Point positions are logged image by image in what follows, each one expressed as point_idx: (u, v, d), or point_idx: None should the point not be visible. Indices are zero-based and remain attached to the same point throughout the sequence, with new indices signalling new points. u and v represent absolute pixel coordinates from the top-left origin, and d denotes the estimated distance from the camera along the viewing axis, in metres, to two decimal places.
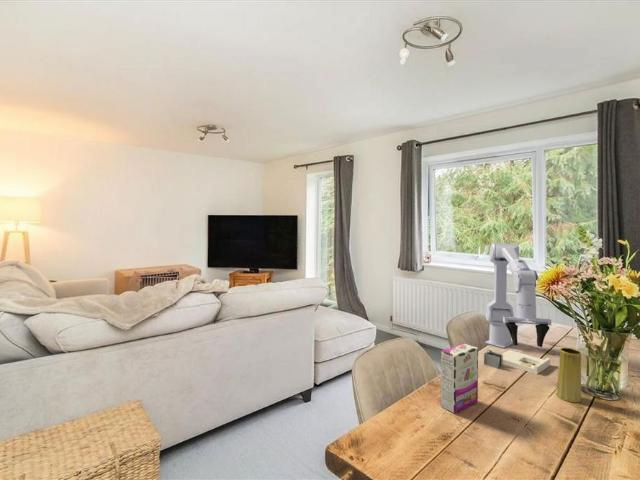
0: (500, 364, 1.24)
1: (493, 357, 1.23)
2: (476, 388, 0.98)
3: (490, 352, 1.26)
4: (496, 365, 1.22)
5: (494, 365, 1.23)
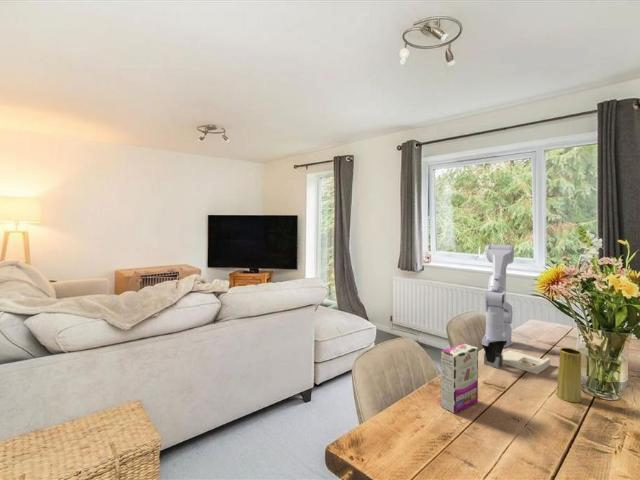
0: (500, 364, 1.24)
1: None
2: (476, 388, 0.98)
3: None
4: (496, 365, 1.22)
5: (494, 365, 1.23)
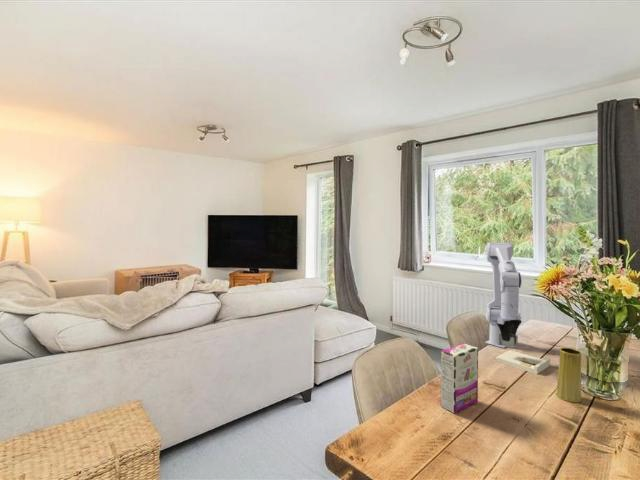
0: (515, 344, 1.27)
1: None
2: (476, 388, 0.98)
3: None
4: (511, 345, 1.26)
5: (509, 345, 1.26)
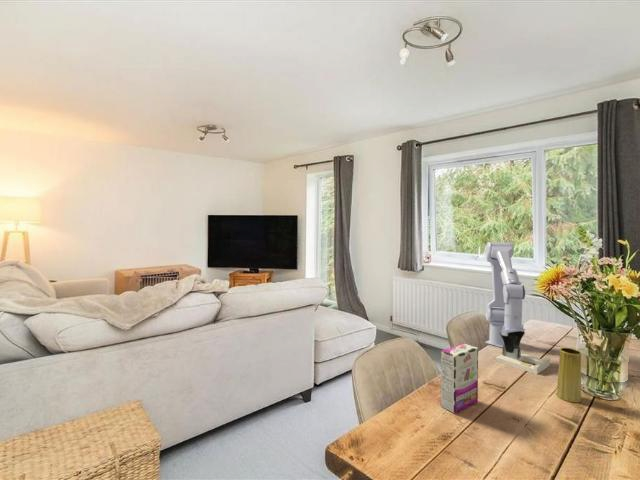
0: (518, 355, 1.28)
1: None
2: (476, 388, 0.98)
3: None
4: (514, 356, 1.27)
5: (512, 356, 1.27)
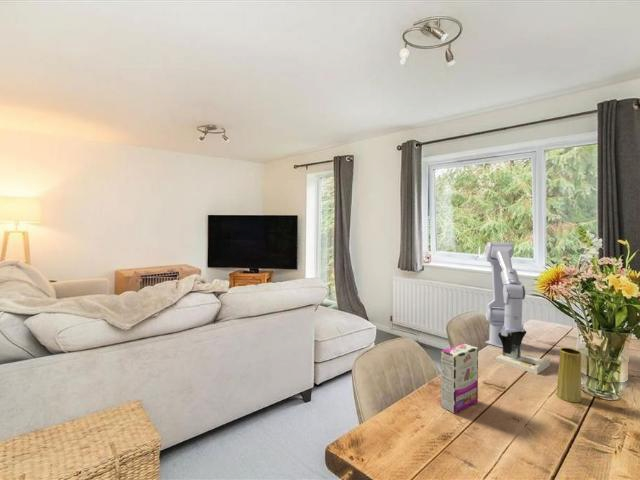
0: (518, 355, 1.28)
1: (512, 348, 1.28)
2: (476, 388, 0.98)
3: None
4: (515, 356, 1.27)
5: (513, 356, 1.27)
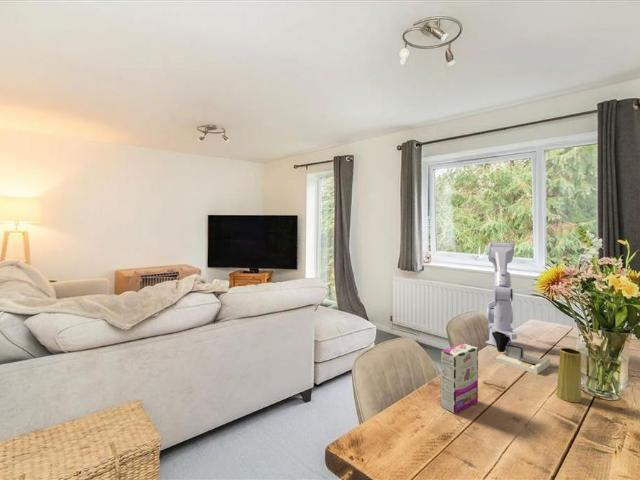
0: (521, 356, 1.28)
1: (515, 349, 1.27)
2: (476, 388, 0.98)
3: (511, 344, 1.29)
4: (518, 357, 1.26)
5: (516, 357, 1.27)
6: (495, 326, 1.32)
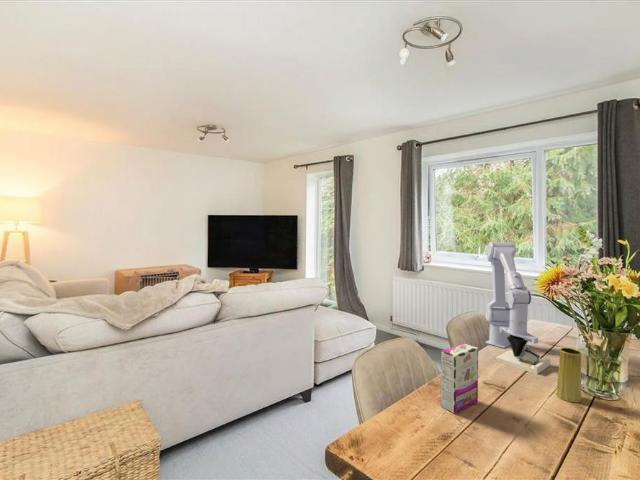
0: None
1: (531, 356, 1.23)
2: (476, 388, 0.98)
3: (529, 350, 1.25)
4: (531, 364, 1.23)
5: (529, 363, 1.24)
6: (513, 330, 1.26)
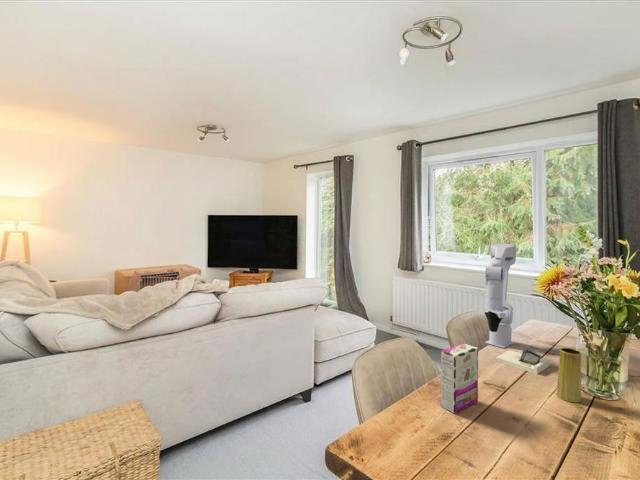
0: (536, 363, 1.24)
1: (532, 357, 1.23)
2: (476, 388, 0.98)
3: (529, 351, 1.25)
4: (533, 364, 1.23)
5: (531, 364, 1.23)
6: (486, 305, 1.32)
